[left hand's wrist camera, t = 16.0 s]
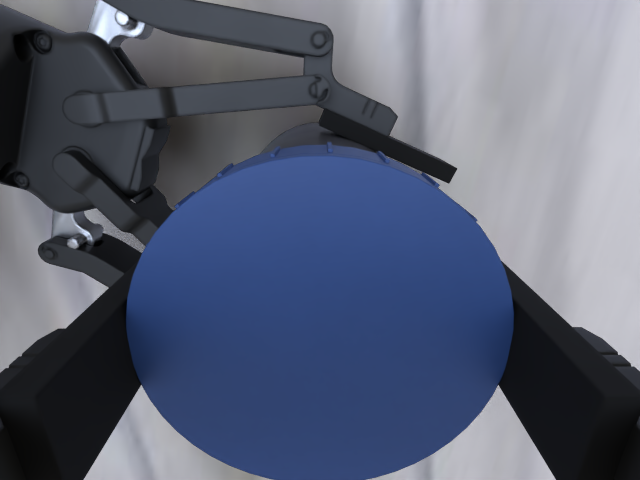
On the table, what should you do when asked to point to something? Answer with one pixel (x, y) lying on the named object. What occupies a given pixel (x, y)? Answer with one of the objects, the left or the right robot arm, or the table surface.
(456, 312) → the lid
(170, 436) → the table surface
